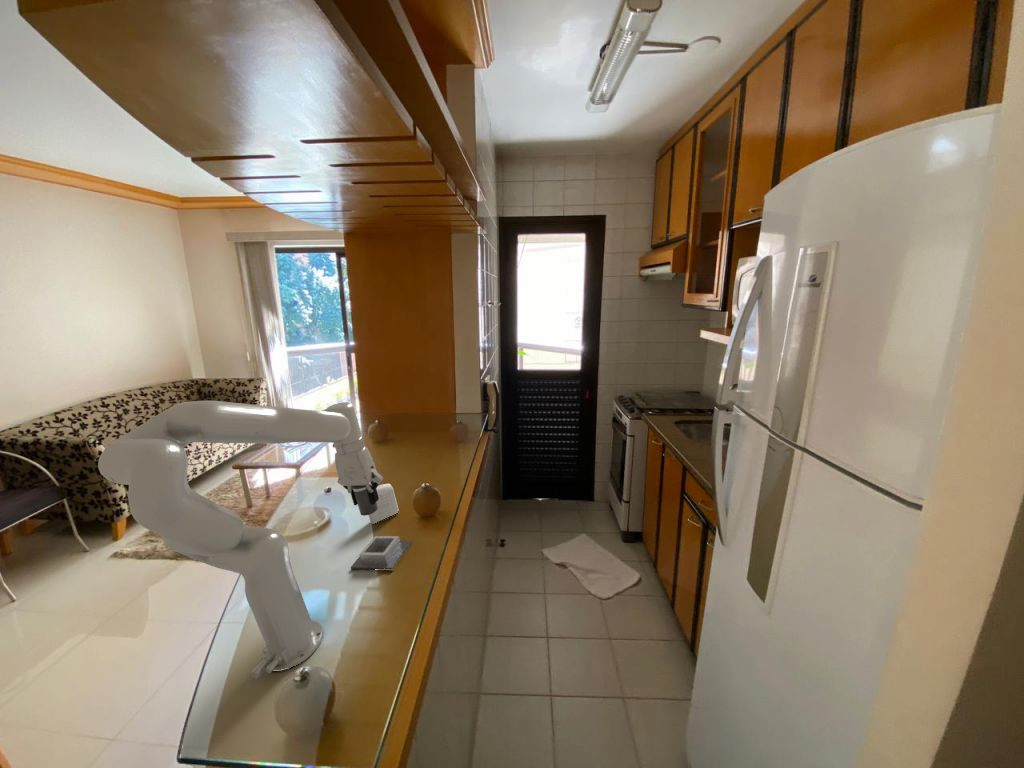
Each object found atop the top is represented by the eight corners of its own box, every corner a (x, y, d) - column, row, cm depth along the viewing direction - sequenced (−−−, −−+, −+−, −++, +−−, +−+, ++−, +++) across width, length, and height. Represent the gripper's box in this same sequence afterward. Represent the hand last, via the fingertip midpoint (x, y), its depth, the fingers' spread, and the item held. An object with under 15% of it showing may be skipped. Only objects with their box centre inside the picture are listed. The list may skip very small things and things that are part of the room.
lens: (371, 515, 114) (363, 487, 111) (356, 515, 115) (348, 488, 113) (381, 505, 118) (373, 478, 116) (366, 505, 120) (358, 479, 117)
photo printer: (397, 508, 147) (389, 479, 144) (401, 513, 143) (392, 483, 140) (369, 521, 142) (360, 490, 138) (372, 526, 138) (363, 495, 135)
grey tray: (393, 571, 113) (389, 559, 112) (351, 569, 117) (347, 558, 116) (412, 543, 125) (409, 532, 124) (373, 543, 128) (370, 532, 127)
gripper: (315, 453, 110) (334, 510, 115) (368, 450, 106) (385, 509, 110) (333, 442, 117) (349, 496, 122) (383, 438, 113) (398, 494, 117)
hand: (366, 501), depth 116 cm, fingers closed on lens, 5 cm apart
